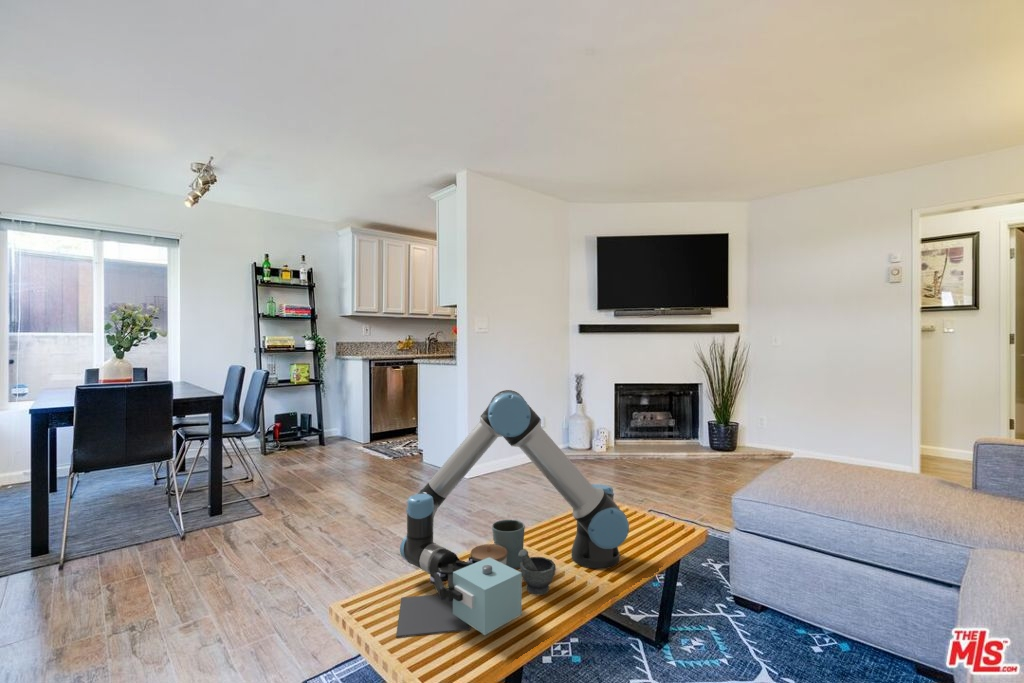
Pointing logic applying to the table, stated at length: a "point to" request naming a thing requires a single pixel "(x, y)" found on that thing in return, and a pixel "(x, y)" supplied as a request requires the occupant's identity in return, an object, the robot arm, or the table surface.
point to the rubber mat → (427, 616)
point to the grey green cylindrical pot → (510, 539)
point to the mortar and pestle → (536, 572)
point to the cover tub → (489, 594)
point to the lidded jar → (490, 552)
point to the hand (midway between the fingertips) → (493, 592)
